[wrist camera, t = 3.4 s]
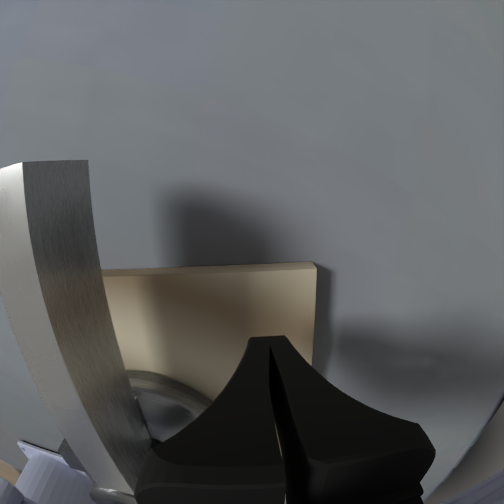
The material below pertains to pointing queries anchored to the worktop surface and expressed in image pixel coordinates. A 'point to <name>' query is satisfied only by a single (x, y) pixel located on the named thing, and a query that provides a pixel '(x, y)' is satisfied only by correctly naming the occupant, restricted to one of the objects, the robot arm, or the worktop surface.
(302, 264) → the square wooden board
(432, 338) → the worktop surface
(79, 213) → the metal lever mechanism
